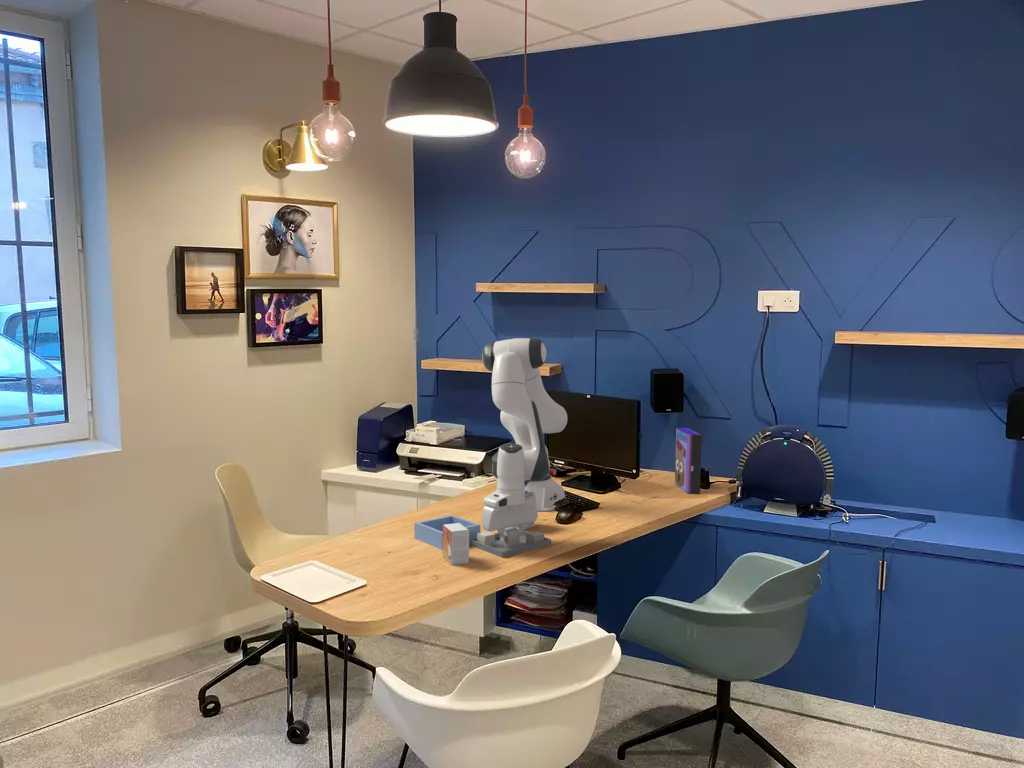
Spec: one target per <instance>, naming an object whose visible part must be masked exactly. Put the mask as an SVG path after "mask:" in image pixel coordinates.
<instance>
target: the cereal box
mask: <svg viewBox="0 0 1024 768" xmlns="http://www.w3.org/2000/svg"><path fill="white" fill-rule="evenodd" d="M675 434H676V437H675V465H674V466H675V467H674V469H675V470H674V471H675V472H674V485H675V486H677V487H678V488H679V489H680V490H682V491H683V492H685V493H686V494H687V495H700V494H701V472H702V469H701V467H702V466H701V465H702V446H703V445H702V442H703V441H702V439H703V435H702V434H701V433H699V432H696V431H695V430H693V429H690V428H688V427H676V433H675Z"/></svg>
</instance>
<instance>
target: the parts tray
mask: <svg viewBox="0 0 1024 768" xmlns="http://www.w3.org/2000/svg"><path fill="white" fill-rule="evenodd" d="M530 532H531V531H528V530H525V529H523V530H522V532H521V537H520V545H518V546H514V547H507V546H504V545H502V542H501V541H500V535H499V533H498V532H497V533H494V534H495V545H493V546H488V545H485V544H482V543H480V542H477V538H474V539H470V543H469V546H471V547H474V548H476V549H479V550H481V551H484V552H487V553H489V554H491V555H494V556H496V557H499V558H501V559H502V558H506V557H510V556H514V555H518V554H522V553H527V552H529V551H533V550H537V549H540V548H544V547H549V546H551V545H552V539H551V538H548V537H545V536H544V541H540V542H536V543H532V544H528V545H526V533H530Z"/></svg>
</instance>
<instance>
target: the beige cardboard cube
mask: <svg viewBox="0 0 1024 768" xmlns="http://www.w3.org/2000/svg"><path fill="white" fill-rule="evenodd" d="M504 534H505V535H506V536H507V541H506V542H502V545H504V546H507V547H514V546H518V545H520V529H517V528H514V527H508V528H505V531H504Z"/></svg>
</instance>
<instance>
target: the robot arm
mask: <svg viewBox="0 0 1024 768" xmlns="http://www.w3.org/2000/svg"><path fill="white" fill-rule="evenodd" d="M481 353H482V354H481V358H482V359H481V360H482V362H483V366H484V368H485V369H486V370H487V371H488V372H491V373H492V374H491V397H492V402H493V404H494V405H495V407H496V408H497V409H499V410H500V415H499V416H500V417H499V418H500V422H501V424H502V426H503V427H504V428H505V429H506V430H507V431H508V432H509V433H510V434H511V436H512V438H513V440H514V442H515V443H513V442H509V443H504V444H501V445H500V446H499V447H498V451H497V452H495V453H494V455H492V457H491V461H492V471H491V475H492V476H493V477H494V478H496V479H497V483H496V490H494V491H492V492H491V493H490V494H488V495H487V496H485V497H483V502H482V503H483V505H484V507H483V508H482V515H481V518H482V519H481V526H482V528H483V530H485V531H488V532H494V531H495V532H496V531H497V533H499V535H500V541H501V542H506V541H507V536H506V535H505V534H504V531H505V528H508V527H512V526H517V529H520V537H521V532H522V529H523V527H524V524H525V523H529V522H534V523H535V521H537V519H538V518H539V517H538V516H539V514H538V512H539V511H540V512H541V511H543V512H551V511H555V509H554V508H555V507H556V506H555V505H553V504H554V503H555V502H557V501H559V500H561V499H563V498H566V495H565V490H564V487H563V486H562V485H560V484H559V483H558V482H557V481H555V480H554V479H553V478H552V475H553V476H555V475H556V473H557V470H556V469H555V468H554V469H553V468H551V463H550V459H549V458H550V457H549V451H548V448H547V446H546V444H545V439H544V436H543V435H544V434H556V433H561V432H562V431H563V430H564V429H565V428H566V426H567V424H568V413H567V411H566V409H565V408H564V407H563V406H561V405H560V404H559V403H557V402H556V401H554V399H552V397H551V396H550V395H549V394H548V392H547V391H546V389H545V387H544V383H543V380H542V377H541V376H542V375H541V371H540V367H543V365H544V364H545V363H546V359H547V349H546V346H545V343H544V341H543V340H541V338H538V337H530V338H528V337H527V338H526V337H525V338H524V337H519V338H514V337H513V338H511V339H503V340H498V341H496V340H493V341H490V342H487V343H485V345H484V347H483V348H482V352H481ZM525 490H526V491H531V492H530V493H525ZM532 492H534V494H533V493H532ZM523 530H524V529H523Z"/></svg>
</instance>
